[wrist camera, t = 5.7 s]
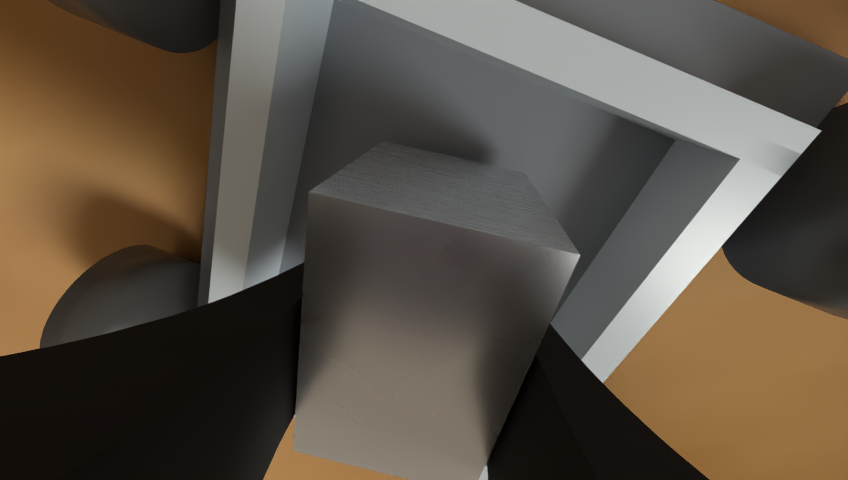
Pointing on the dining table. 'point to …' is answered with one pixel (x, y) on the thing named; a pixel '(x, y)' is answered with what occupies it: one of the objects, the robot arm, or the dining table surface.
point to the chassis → (508, 144)
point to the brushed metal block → (422, 310)
